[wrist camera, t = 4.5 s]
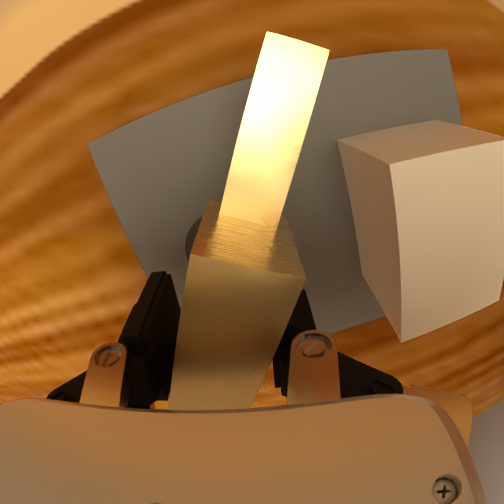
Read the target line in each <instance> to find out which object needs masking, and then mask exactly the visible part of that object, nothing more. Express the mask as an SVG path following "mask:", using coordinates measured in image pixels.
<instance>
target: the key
mask: <svg viewBox="0 0 504 504" xmlns="http://www.w3.org/2000/svg"><path fill="white" fill-rule="evenodd" d="M329 51H330V50H328V49H325V48H322V47H319V46H316V45H313V44H310V43H306V42H303V41H300V40H297V39H293V38H290V37H286V36H282V35H279V34H275V33H271V32H267V33H266V36H265V39H264V43H263V46H262V49H261V53H260V56H259V60H258V63H257V67H256V70H255V74H254V78H253V81H252V85H251V88H250V92H249V96H248V99H247V103H246V107H245V111H244V114H243V118H242V122H241V126H240V130H239V134H238V138H237V142H236V146H235V150H234V154H233V158H232V162H231V166H230V170H229V174H228V178H227V182H226V186H225V191H224V195H223V199H222V202H218V201H214V200H208V203H207V206H206V208H205V211H204V214H203V217H202V220H201V223H200V226H199V229H198V232H197V235H196V238H195V241H194V244H193V247H192V250H191V253H190V258H189V264H188V269H187V275H186V281H185V287H184V294H183V300H182V306H181V313H180V320H179V327H178V334H177V341H176V349H175V356H174V364H173V372H172V381H171V390H170V399H169V409H168V410H225V409H247V408H250V407H251V405H252V403H253V401H254V398H255V396H256V394H257V392H258V390H259V388H260V385H261V383H262V381H263V379H264V377H265V374H266V372H267V370H268V368H269V366H270V363H271V361H272V359H273V357H274V354H275V352H276V350H277V347H278V345H279V343H280V341H281V338H282V336H283V334H284V331H285V329H286V326H287V324H288V322H289V319H290V317H291V315H292V312H293V310H294V307H295V305H296V302H297V300H298V297H299V295H300V293H301V290H302V288H303V285H304V283H305V280H306V276H305V273H304V270H303V267H302V264H301V261H300V258H299V255H298V252H297V248H296V245H295V242H294V240H293V237H292V234H291V231H290V228H289V225H288V222H287V219H286V217H283V216H281V213H282V210H283V207H284V204H285V200H286V197H287V194H288V190H289V187H290V184H291V181H292V177H293V174H294V171H295V167H296V164H297V161H298V157H299V154H300V151H301V147H302V144H303V141H304V137H305V134H306V130H307V127H308V124H309V120H310V117H311V113H312V110H313V106H314V103H315V100H316V96H317V93H318V89H319V86H320V82H321V79H322V75H323V72H324V68H325V65H326V61H327V58H328V54H329Z"/></svg>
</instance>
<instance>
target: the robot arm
mask: <svg viewBox="0 0 504 504" xmlns="http://www.w3.org/2000/svg"><path fill="white" fill-rule="evenodd" d="M180 313H181V309H180V306H179V302H178V298H177V295H176V291H175V288H174V284H173V280H172V277H171V274H167V273H166V271H157V272H152V273H151V274H150V276H149V278H148V281H147V283H146V285H145V287H144V289H143V291H142V293H141V296H140V298H139V300H138V302H137V304H135V305H134V306H133V308H132V311H131V313H130V315H129V317H128V319H127V322H126V324H125V326H124V328H123V331H122V333H121V335H120V338H119V340H118V342H111V343H107V344H104V345H102V346H100V347H99V348H97V349H96V350H95V351H94V352H93V354H92V356H91V358H90V362H89V366H88V369H87V371H85V372H84V373H82V374H80V375H79V376H77V377H75V378H73V379H72V380H70V381H68V382H67V383H65V384H63V385H61V386H60V387H58V388H56V389H55V390H53V391H52V392H51V393H50V394H49V395H48V396H47V398H46V399H43V398H22V399H16V400H12V401H8V402H6V403H3V404H1V405H0V504H487V501H486V497H485V494H484V491H483V488H482V485H481V482H480V479H479V476H478V473H477V470H476V468H475V465H474V463H473V460H472V458H471V455H470V453H469V450H468V448H469V441H470V433H471V425H472V415H473V408H472V404H471V402H470V400H469V399H468V398H467V397H465V396H464V395H461V394H458V393H452V392H447V391H441V390H435V389H430V388H425V387H420V386H415V385H410V388H408V387H403V386H402V385H401V383H400V382H399V381H398V380H397V379H396V378H394V377H393V376H391V375H389V374H386V373H384V372H382V371H379V370H377V369H375V368H373V367H370V366H368V365H366V364H363V363H361V362H359V361H357V360H355V359H352V358H350V357H348V356H346V355H344V354H341V353H339V352H337V344H336V341H335V339H334V338H333V337H332V335H330V334H328V333H327V332H324V331H321V330H317V329H316V326H315V322H314V318H313V315H312V311H311V308H310V304H309V301H308V297H307V294H306V291H305V289H302V290H301V293H300V295H299V297H298V300H297V302H296V305H295V307H294V310H293V312H292V315H291V317H290V319H289V322H288V324H287V326H286V329H285V331H284V334H283V336H282V338H281V341H280V343H279V345H278V347H277V350H276V352H275V354H274V357H273V359H272V360H273V370H274V381H275V388H279V387H281V392H282V396H283V395H284V396H285V397H287V404H286V405H284V406H273V407H261V408H247V409H225V410H157V409H155V405H154V402H155V401H157V400H164V401H168V396H169V393H170V390H171V381H172V372H173V364H174V356H175V349H176V341H177V334H178V327H179V320H180Z"/></svg>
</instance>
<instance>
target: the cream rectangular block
mask: <svg viewBox="0 0 504 504" xmlns="http://www.w3.org/2000/svg"><path fill="white" fill-rule="evenodd" d="M337 143H338V147H339V151H340V155H341V160H342V164H343V169H344V173H345V178H346V183H347V188H348V193H349V198H350V203H351V208H352V214H353V219H354V225H355V231H356V237H357V244H358V250H359V257H360V264H361V271H362V275H363V277H364V278H365V280H366V282H367V284H368V285H369V287H370V289H371V290H372V292H373V294H374V295H375V297H376V299H377V301H378V302H379V304H380V306H381V308H382V309H383V311H384V313H385V315H386V317H387V318H388V320H389V322H390V324H391V326H392V327H393V329H394V331H395V333H396V335H397V337H398V338H399V340H400V342H401V343H402V342H405V341H408V340H410V339H413V338H415V337H418V336H421V335H423V334H426V333H428V332H431V331H433V330H435V329H438V328H440V327H443V326H445V325H447V324H450V323H452V322H454V321H457V320H459V319H461V318H463V317H465V316H468V315H470V314H472V313H474V312H476V311H478V310H480V309H482V308H484V307H487V306H489V305H491V304H493V303H495V302H497V301H498V300H499V298H500V294H501V289H502V283H503V278H504V137H503V136H500V135H496V134H493V133H489V132H485V131H481V130H478V129H474V128H470V127H465V126H461V125H457V124H452V123H448V122H443V121H438V120H432V121H426V122H420V123H414V124H408V125H403V126H398V127H393V128H387V129H383V130H378V131H373V132H368V133H364V134H359V135H355V136H350V137H346V138H342V139H337Z"/></svg>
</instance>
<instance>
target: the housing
mask: <svg viewBox="0 0 504 504" xmlns="http://www.w3.org/2000/svg"><path fill="white" fill-rule="evenodd" d="M253 78H254V77H252V78H248V79H245V80H241V81H238V82H235V83H232V84H228V85H225V86H222V87H219V88H216V89H213V90H210V91H207V92H204V93H201V94H199V95H196V96H193V97H190V98H188V99H185V100H182V101H180V102H177V103H175V104H172V105H170V106H167V107H165V108H162V109H160V110H158V111H155V112H153V113H150V114H148V115H146V116H144V117H141V118H139V119H137V120H135V121H133V122H130V123H128V124H126V125H124V126H122V127H120V128H118V129H116V130H114V131H112V132H110V133H108V134H106V135H104V136H102V137H100V138H98V139H96V140H94V141H92V142H90V143H88V144H87V145H88V148H89V150H90V153H91V155H92V158H93V160H94V163H95V165H96V168H97V170H98V173H99V175H100V178H101V180H102V182H103V185H104V187H105V189H106V192H107V194H108V196H109V199H110V201H111V203H112V205H113V208H114V210H115V212H116V214H117V216H118V218H119V221H120V223H121V225H122V227H123V229H124V231H125V233H126V235H127V238H128V240H129V242H130V244H131V246H132V248H133V250H134V252H135V254H136V256H137V258H138V260H139V262H140V264H141V266H142V267H143V269H144V271H145V273H146V275H147V277H148V278H149V276H150V274H151V273H152V272H157V271H166V273H167V274H171V277H172V280H173V284H174V288H175V291H176V295H177V298H178V302H179V306H180V309H181V306H182V300H183V294H184V287H185V281H186V275H187V269H188V264H189V258H190V253H191V250H192V247H193V244H194V241H195V238H196V235H197V232H198V229H199V226H200V223H201V220H202V217H203V214H204V211H205V208H206V206H207V203H208V200H214V201H218V202H222V199H223V195H224V191H225V186H226V182H227V178H228V174H229V170H230V166H231V162H232V158H233V154H234V150H235V146H236V142H237V138H238V134H239V130H240V126H241V122H242V118H243V114H244V111H245V107H246V103H247V99H248V96H249V92H250V88H251V85H252V81H253ZM432 120H438V121H443V122H448V123H452V124H457V125H461V126H462V120H461V114H460V108H459V102H458V96H457V91H456V86H455V81H454V77H453V72H452V68H451V64H450V60H449V56H448V52H447V49H423V50H404V51H391V52H381V53H372V54H364V55H356V56H349V57H343V58H336V59H330V60H327V61H326V65H325V68H324V72H323V75H322V79H321V82H320V86H319V89H318V93H317V96H316V100H315V103H314V106H313V110H312V113H311V117H310V120H309V124H308V127H307V130H306V134H305V137H304V141H303V144H302V147H301V151H300V154H299V157H298V161H297V164H296V167H295V171H294V174H293V177H292V181H291V184H290V187H289V190H288V194H287V197H286V200H285V204H284V207H283V210H282V213H281V216H283V217H286V219H287V222H288V225H289V228H290V231H291V234H292V237H293V240H294V242H295V245H296V248H297V252H298V255H299V258H300V261H301V264H302V267H303V270H304V273H305V276H306V280H305V283H304V285H303V288H302V289H305V291H306V294H307V297H308V301H309V304H310V308H311V311H312V315H313V318H314V322H315V326H316V329H317V330H321V331H324V332H327V333H328V334H331V333H334V332H338V331H341V330H344V329H348V328H351V327H354V326H357V325H361V324H364V323H367V322H370V321H373V320H376V319H379V318H382V317H385V316H386V315H385V313H384V311H383V309H382V308H381V306H380V304H379V302H378V301H377V299H376V297H375V295H374V294H373V292H372V290H371V289H370V287H369V285H368V284H367V282H366V280H365V278H364V277H363V275H362V271H361V264H360V257H359V250H358V244H357V237H356V231H355V225H354V219H353V214H352V208H351V203H350V198H349V193H348V188H347V183H346V178H345V173H344V169H343V164H342V160H341V155H340V151H339V147H338V143H337V139H342V138H346V137H350V136H355V135H359V134H364V133H368V132H373V131H378V130H383V129H387V128H393V127H398V126H403V125H408V124H414V123H420V122H426V121H432Z"/></svg>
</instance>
